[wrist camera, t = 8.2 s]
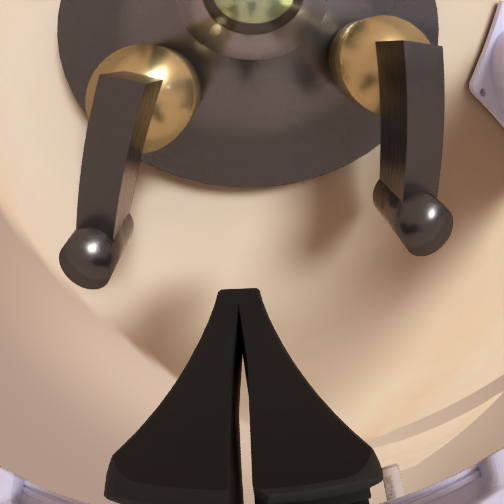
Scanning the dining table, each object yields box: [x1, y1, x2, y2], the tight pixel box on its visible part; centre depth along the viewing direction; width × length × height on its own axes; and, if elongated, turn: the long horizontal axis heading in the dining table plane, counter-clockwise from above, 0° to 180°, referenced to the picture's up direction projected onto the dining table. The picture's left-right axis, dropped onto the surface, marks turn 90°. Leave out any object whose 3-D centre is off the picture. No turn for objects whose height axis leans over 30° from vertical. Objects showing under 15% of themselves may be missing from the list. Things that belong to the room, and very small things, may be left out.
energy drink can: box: [382, 464, 405, 501], centre depth 64 cm, size 6×6×15 cm
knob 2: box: [328, 15, 453, 256], centre depth 10 cm, size 9×4×5 cm, turn 9°
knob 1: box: [59, 44, 201, 289], centre depth 10 cm, size 9×4×5 cm, turn 159°
